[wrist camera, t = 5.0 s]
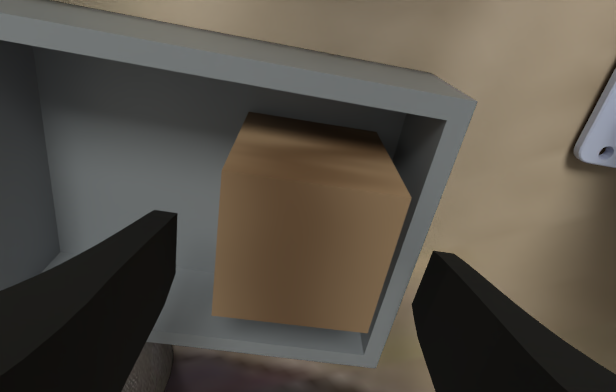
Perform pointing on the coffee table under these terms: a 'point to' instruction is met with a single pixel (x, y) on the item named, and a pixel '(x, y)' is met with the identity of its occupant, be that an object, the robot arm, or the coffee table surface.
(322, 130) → the walnut block
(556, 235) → the coffee table surface
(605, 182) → the coffee table surface
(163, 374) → the pillar candle
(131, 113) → the tray
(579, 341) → the coffee table surface
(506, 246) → the coffee table surface
